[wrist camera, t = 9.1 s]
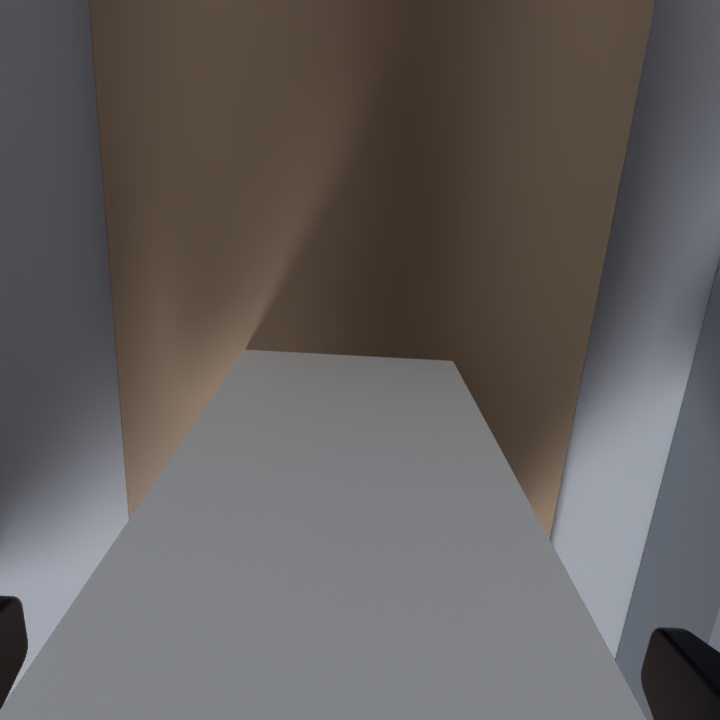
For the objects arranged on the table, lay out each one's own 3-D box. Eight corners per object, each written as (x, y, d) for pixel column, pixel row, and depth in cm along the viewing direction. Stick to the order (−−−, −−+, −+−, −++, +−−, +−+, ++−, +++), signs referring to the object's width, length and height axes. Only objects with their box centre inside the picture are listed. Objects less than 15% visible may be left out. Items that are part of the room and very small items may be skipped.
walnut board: (159, 793, 15) (151, 817, 14) (99, -85, 9) (80, -104, 8) (486, 805, 15) (492, 830, 15) (648, -43, 9) (667, -58, 8)
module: (243, 604, 12) (59, 1289, 5) (242, 349, 10) (-66, 791, 3) (425, 612, 12) (535, 1297, 5) (455, 361, 11) (707, 817, 3)
